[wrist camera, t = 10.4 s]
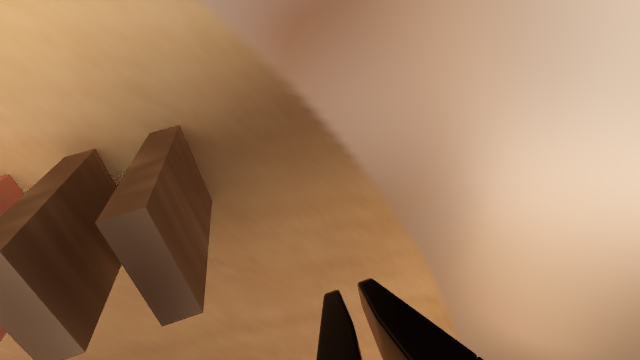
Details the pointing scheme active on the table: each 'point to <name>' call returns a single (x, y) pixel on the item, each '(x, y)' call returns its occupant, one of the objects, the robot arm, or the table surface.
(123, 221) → the domino
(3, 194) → the domino
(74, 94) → the table surface
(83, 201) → the domino
